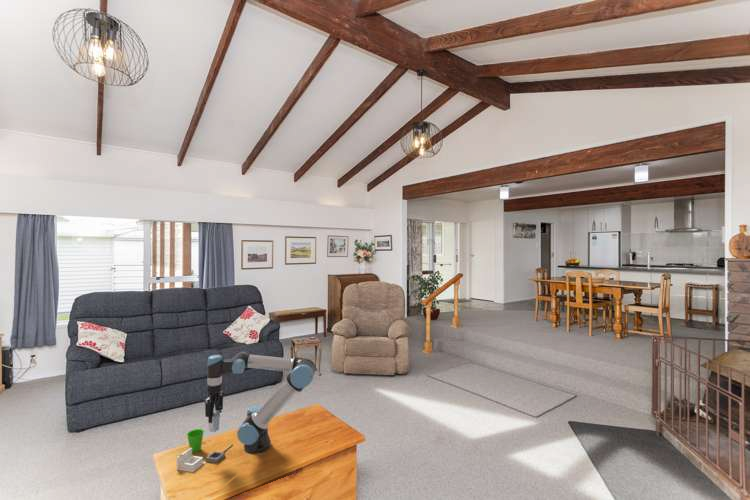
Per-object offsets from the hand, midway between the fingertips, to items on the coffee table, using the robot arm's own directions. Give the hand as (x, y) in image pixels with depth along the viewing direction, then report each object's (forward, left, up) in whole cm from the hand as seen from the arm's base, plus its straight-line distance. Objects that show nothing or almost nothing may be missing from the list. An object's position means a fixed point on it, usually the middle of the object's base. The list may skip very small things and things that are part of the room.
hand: (214, 426), depth 210 cm
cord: (-1, -10, -19) cm, 21 cm away
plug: (0, 0, -2) cm, 2 cm away
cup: (+16, -5, -19) cm, 26 cm away
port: (+7, +9, -19) cm, 22 cm away
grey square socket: (-1, 0, -19) cm, 19 cm away
